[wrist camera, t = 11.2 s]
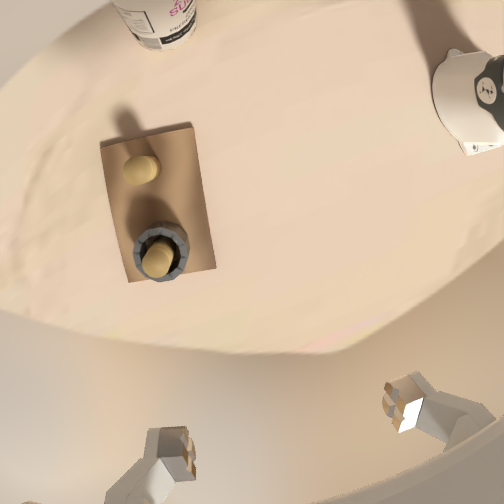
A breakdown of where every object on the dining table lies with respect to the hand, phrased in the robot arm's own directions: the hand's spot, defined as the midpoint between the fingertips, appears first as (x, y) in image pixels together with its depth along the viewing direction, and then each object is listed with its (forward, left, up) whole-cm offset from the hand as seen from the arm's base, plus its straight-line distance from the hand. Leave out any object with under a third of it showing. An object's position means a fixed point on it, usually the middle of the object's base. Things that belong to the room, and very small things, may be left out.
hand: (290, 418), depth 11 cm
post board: (+9, -5, -31) cm, 33 cm away
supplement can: (+5, -29, -31) cm, 43 cm away
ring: (+9, 0, -30) cm, 31 cm away
